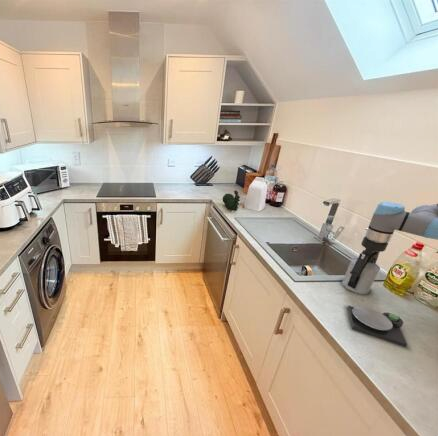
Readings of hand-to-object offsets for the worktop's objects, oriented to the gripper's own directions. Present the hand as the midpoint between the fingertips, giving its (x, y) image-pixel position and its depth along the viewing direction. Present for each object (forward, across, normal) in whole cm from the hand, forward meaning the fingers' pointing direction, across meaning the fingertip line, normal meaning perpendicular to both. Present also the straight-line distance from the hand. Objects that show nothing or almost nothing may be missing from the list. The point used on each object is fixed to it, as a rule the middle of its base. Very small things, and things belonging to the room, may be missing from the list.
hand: (356, 283), depth 105 cm
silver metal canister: (+2, 0, 0) cm, 2 cm away
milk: (+2, -44, -89) cm, 100 cm away
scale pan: (-1, +21, +12) cm, 24 cm away
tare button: (-1, +14, +16) cm, 21 cm away
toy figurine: (+2, -25, -98) cm, 102 cm away
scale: (+2, +20, +14) cm, 24 cm away
